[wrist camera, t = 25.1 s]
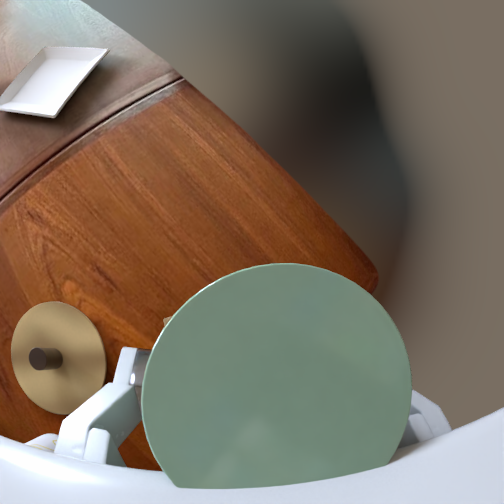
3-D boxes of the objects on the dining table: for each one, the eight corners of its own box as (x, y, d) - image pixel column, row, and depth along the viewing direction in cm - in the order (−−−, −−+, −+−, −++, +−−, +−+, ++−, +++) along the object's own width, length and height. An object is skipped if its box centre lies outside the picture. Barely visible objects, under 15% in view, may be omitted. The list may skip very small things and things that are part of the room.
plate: (58, 125, 41) (54, 117, 39) (-6, 114, 40) (-10, 108, 38) (112, 55, 48) (110, 48, 46) (46, 52, 46) (43, 46, 44)
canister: (298, 406, 16) (427, 462, 5) (195, 432, 15) (191, 549, 4) (273, 307, 17) (375, 239, 7) (168, 330, 16) (112, 293, 6)
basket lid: (123, 403, 32) (110, 412, 27) (31, 418, 29) (10, 425, 23) (93, 291, 35) (77, 282, 30) (7, 315, 32) (-16, 308, 27)
